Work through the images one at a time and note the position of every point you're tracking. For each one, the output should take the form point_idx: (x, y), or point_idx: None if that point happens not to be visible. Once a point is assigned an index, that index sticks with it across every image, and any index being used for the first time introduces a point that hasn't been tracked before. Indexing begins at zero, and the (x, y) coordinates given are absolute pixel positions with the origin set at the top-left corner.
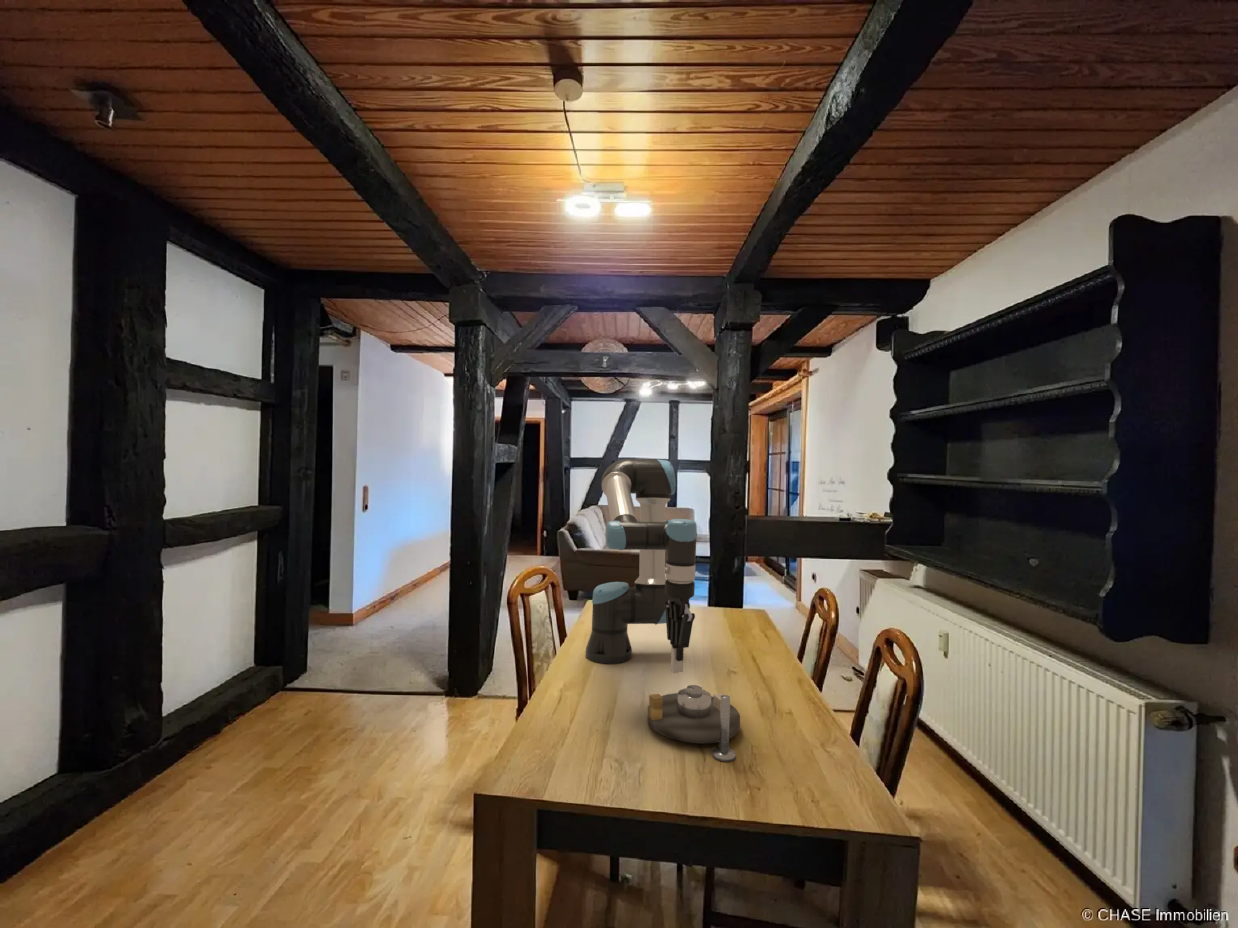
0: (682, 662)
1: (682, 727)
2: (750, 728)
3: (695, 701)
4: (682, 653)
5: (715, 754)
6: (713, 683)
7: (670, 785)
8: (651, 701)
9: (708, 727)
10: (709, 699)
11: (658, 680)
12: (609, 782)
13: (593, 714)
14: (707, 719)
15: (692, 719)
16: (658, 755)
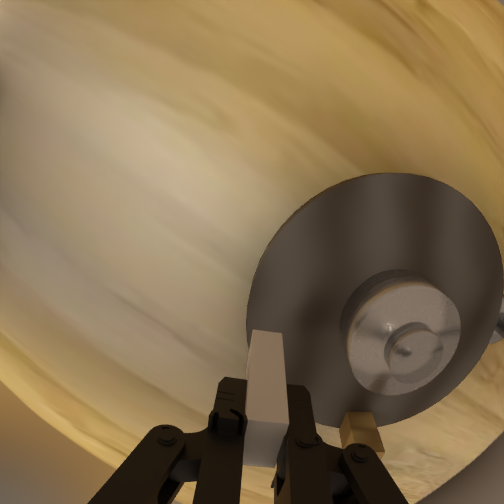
0: (283, 362)
1: (431, 390)
2: (457, 164)
3: (442, 368)
4: (311, 418)
5: (493, 341)
6: (150, 50)
7: (472, 427)
8: None
9: (469, 335)
10: (459, 318)
11: (66, 210)
12: (410, 482)
13: None
14: None
15: None
16: (414, 419)
